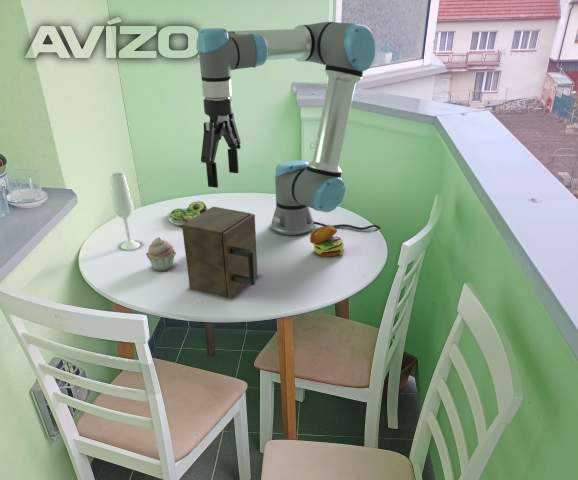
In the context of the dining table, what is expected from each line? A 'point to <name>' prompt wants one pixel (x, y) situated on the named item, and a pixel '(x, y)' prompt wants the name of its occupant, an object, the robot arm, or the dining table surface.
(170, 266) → the cupcake
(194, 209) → the plate of green donuts
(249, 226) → the cupboard door
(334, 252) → the cheeseburger
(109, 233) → the dining table surface
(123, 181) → the champagne flute
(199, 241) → the cupboard
